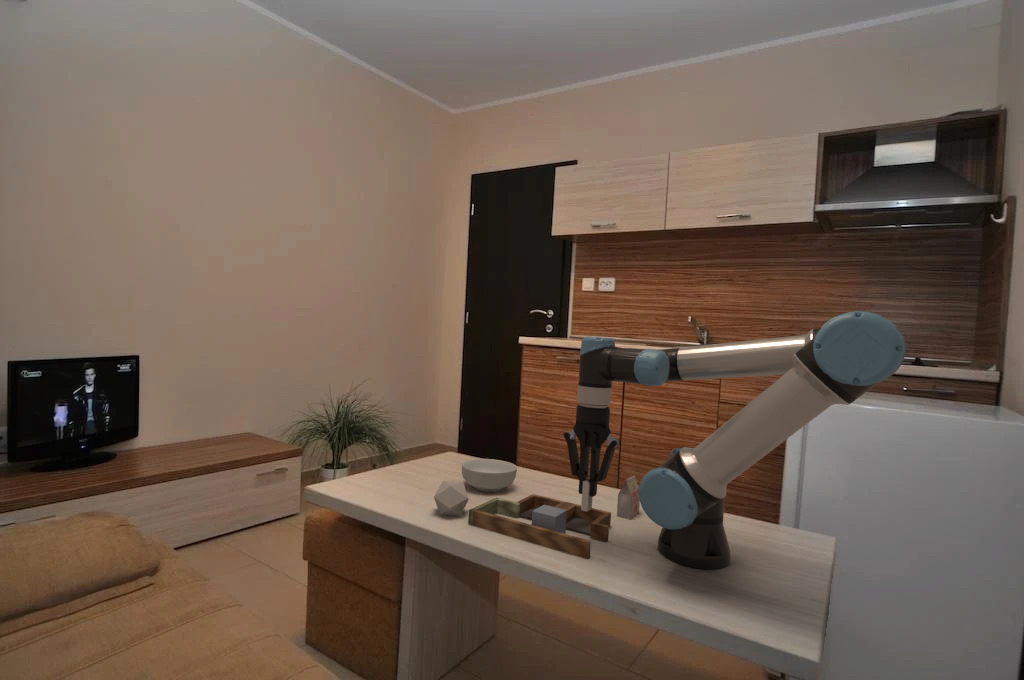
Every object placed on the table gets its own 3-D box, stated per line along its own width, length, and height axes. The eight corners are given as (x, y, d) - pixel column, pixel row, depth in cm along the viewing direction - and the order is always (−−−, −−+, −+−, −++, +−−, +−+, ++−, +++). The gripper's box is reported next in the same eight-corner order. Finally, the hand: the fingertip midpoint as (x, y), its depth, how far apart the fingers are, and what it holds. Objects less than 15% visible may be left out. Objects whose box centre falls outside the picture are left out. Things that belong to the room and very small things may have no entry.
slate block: (565, 535, 120) (566, 510, 120) (554, 543, 115) (555, 517, 115) (542, 529, 123) (544, 504, 123) (530, 536, 118) (532, 511, 118)
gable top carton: (616, 516, 135) (618, 479, 135) (626, 510, 140) (628, 474, 140) (630, 519, 133) (632, 481, 133) (639, 513, 138) (641, 476, 138)
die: (452, 525, 123) (476, 490, 126) (423, 503, 125) (447, 469, 128) (455, 525, 131) (477, 492, 134) (427, 505, 133) (450, 473, 136)
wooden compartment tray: (621, 528, 125) (621, 514, 125) (587, 559, 107) (588, 542, 107) (513, 502, 141) (514, 489, 141) (468, 524, 123) (468, 509, 123)
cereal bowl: (495, 500, 142) (497, 475, 142) (449, 488, 151) (450, 465, 151) (525, 487, 157) (527, 464, 157) (481, 477, 165) (483, 455, 165)
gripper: (626, 407, 114) (619, 511, 114) (573, 400, 120) (567, 498, 121) (615, 410, 107) (608, 521, 107) (560, 402, 114) (553, 506, 114)
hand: (586, 509), depth 114 cm, fingers closed
